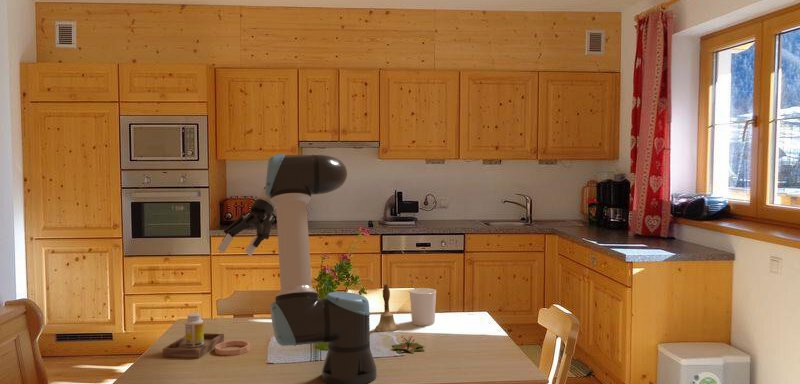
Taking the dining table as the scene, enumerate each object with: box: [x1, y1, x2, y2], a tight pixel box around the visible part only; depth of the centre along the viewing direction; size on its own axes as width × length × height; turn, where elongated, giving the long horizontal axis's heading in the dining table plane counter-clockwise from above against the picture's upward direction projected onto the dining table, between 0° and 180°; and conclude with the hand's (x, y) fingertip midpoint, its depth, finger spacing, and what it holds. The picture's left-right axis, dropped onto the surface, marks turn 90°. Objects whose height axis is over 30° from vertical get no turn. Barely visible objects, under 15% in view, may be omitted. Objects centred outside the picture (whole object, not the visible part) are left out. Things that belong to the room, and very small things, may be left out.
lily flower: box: [390, 334, 426, 354], centre depth 199 cm, size 12×12×5 cm
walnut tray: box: [162, 332, 225, 359], centre depth 201 cm, size 18×12×2 cm, turn 171°
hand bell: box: [375, 284, 400, 333], centre depth 222 cm, size 8×8×16 cm
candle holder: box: [409, 287, 437, 327], centre depth 229 cm, size 10×10×12 cm
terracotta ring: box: [214, 339, 251, 356], centre depth 199 cm, size 11×11×2 cm
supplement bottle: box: [184, 312, 205, 348], centre depth 201 cm, size 6×6×10 cm
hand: (233, 252), depth 210 cm, fingers open, 13 cm apart
